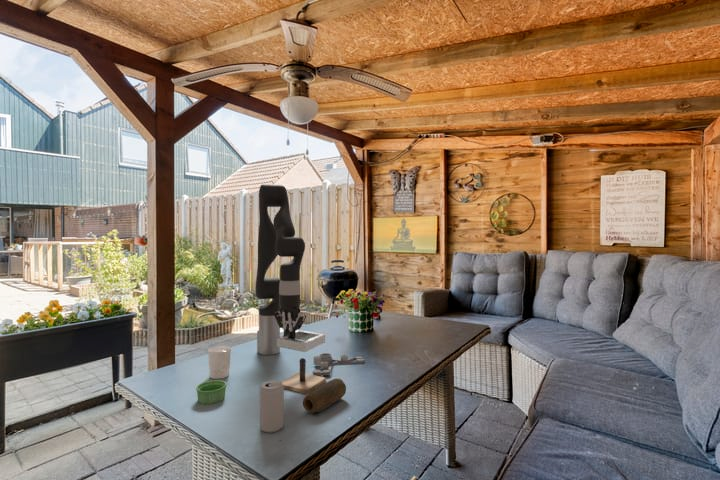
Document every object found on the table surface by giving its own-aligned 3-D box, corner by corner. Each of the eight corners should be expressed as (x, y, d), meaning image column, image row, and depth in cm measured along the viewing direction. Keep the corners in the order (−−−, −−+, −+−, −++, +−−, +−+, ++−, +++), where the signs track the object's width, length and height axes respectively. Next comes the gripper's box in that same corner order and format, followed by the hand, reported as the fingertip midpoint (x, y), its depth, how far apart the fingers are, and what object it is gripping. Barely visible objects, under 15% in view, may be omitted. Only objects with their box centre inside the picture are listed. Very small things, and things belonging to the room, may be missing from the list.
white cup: (235, 373, 139) (235, 347, 139) (221, 380, 132) (221, 353, 132) (218, 370, 142) (218, 344, 142) (203, 378, 135) (203, 350, 134)
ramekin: (232, 394, 121) (231, 381, 121) (215, 406, 112) (215, 392, 112) (208, 391, 123) (208, 378, 123) (189, 403, 114) (189, 389, 114)
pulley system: (295, 372, 143) (321, 380, 133) (294, 360, 144) (321, 367, 134) (343, 357, 164) (369, 363, 154) (343, 346, 164) (369, 352, 154)
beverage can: (262, 422, 103) (262, 379, 103) (285, 421, 104) (285, 379, 103) (257, 434, 97) (257, 389, 97) (282, 433, 97) (282, 388, 97)
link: (276, 346, 127) (276, 338, 127) (298, 337, 138) (298, 329, 137) (305, 352, 121) (305, 343, 121) (325, 342, 132) (325, 334, 132)
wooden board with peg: (278, 386, 127) (278, 360, 127) (298, 375, 138) (299, 351, 138) (306, 393, 122) (306, 366, 121) (326, 381, 132) (326, 356, 132)
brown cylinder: (330, 394, 122) (330, 374, 122) (347, 399, 118) (347, 378, 118) (300, 412, 109) (300, 390, 109) (318, 419, 105) (318, 396, 105)
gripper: (268, 292, 131) (267, 340, 132) (298, 295, 125) (298, 346, 125) (281, 289, 138) (281, 335, 138) (311, 292, 132) (311, 340, 132)
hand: (289, 340), depth 132 cm, fingers closed on link, 1 cm apart
